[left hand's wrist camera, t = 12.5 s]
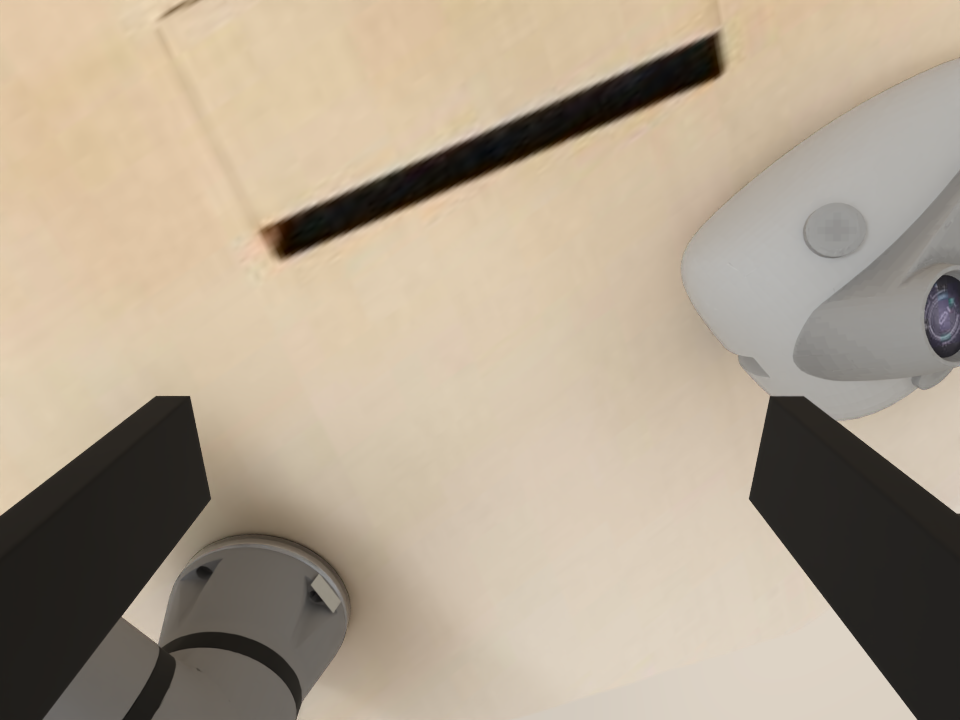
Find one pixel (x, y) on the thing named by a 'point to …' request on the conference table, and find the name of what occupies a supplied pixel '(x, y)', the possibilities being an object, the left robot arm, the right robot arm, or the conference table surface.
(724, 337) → the projector
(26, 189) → the conference table surface
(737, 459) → the conference table surface
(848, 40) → the conference table surface
